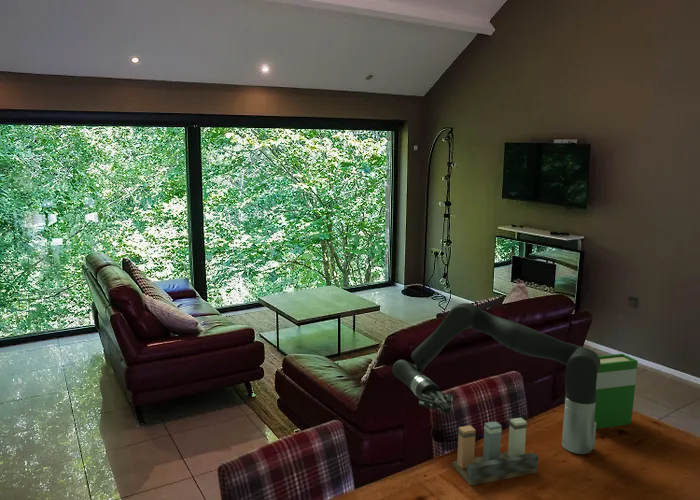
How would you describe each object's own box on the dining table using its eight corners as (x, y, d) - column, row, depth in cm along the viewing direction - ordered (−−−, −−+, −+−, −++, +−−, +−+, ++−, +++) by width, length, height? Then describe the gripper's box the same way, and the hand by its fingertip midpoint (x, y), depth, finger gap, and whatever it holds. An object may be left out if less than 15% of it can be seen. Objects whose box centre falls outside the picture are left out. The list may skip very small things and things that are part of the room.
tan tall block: (468, 461, 172) (470, 425, 170) (473, 466, 169) (475, 430, 167) (456, 463, 171) (458, 427, 169) (461, 469, 168) (463, 431, 166)
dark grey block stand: (515, 454, 180) (517, 438, 179) (537, 472, 169) (538, 456, 168) (452, 465, 173) (452, 449, 172) (470, 485, 162) (471, 468, 161)
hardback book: (590, 429, 197) (595, 365, 193) (576, 420, 204) (581, 357, 200) (631, 423, 201) (637, 360, 197) (616, 414, 208) (622, 353, 204)
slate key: (494, 457, 175) (496, 421, 173) (499, 462, 172) (501, 425, 170) (482, 459, 173) (484, 423, 171) (488, 464, 170) (490, 427, 168)
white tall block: (518, 452, 177) (520, 417, 175) (524, 457, 174) (526, 421, 172) (507, 454, 176) (509, 419, 174) (513, 459, 173) (515, 423, 171)
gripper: (408, 381, 192) (430, 402, 176) (442, 377, 196) (467, 397, 180) (407, 401, 193) (429, 424, 177) (441, 397, 197) (466, 419, 181)
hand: (448, 411), depth 179 cm, fingers closed
